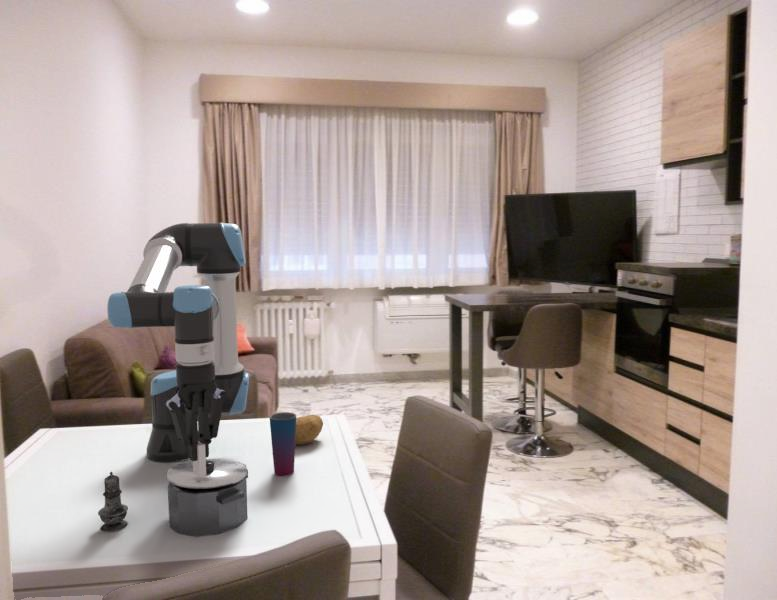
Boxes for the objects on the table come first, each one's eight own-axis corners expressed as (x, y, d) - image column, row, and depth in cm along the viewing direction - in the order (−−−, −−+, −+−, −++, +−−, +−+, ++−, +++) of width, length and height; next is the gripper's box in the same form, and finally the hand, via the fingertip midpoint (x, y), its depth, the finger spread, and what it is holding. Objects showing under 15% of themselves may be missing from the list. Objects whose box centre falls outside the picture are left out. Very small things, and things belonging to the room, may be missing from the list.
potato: (332, 439, 186) (331, 413, 185) (298, 452, 175) (298, 425, 174) (309, 433, 192) (308, 408, 191) (275, 445, 181) (274, 419, 180)
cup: (292, 478, 156) (290, 420, 155) (266, 476, 157) (265, 419, 156) (301, 468, 163) (300, 412, 161) (276, 466, 164) (275, 411, 163)
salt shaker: (104, 520, 133) (102, 466, 132) (133, 519, 133) (130, 465, 132) (94, 533, 127) (91, 477, 126) (123, 532, 128) (121, 476, 126)
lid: (153, 472, 133) (153, 460, 133) (223, 457, 145) (223, 446, 145) (190, 494, 121) (190, 481, 121) (263, 476, 133) (263, 464, 133)
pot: (152, 515, 135) (150, 475, 134) (220, 492, 147) (219, 456, 146) (198, 547, 121) (196, 503, 120) (269, 519, 133) (268, 479, 132)
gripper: (173, 370, 118) (178, 488, 120) (233, 359, 127) (237, 470, 129) (155, 364, 123) (161, 478, 125) (214, 354, 132) (218, 461, 135)
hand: (199, 473), depth 127 cm, fingers closed
